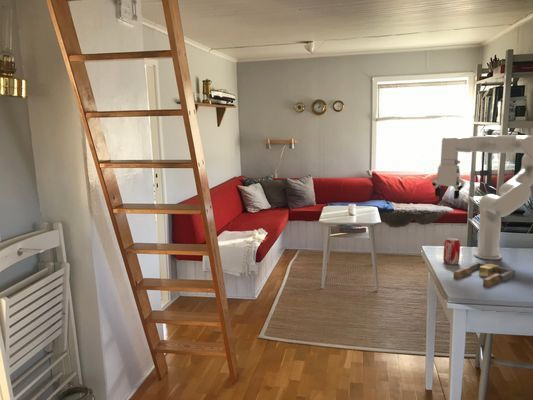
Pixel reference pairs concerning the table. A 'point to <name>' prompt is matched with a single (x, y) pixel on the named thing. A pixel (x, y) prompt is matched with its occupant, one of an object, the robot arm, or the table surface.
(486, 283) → the slot rails
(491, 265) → the wooden cube
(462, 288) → the table surface
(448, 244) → the soda can
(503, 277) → the grey u-shaped frame
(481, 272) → the tan wooden cube
